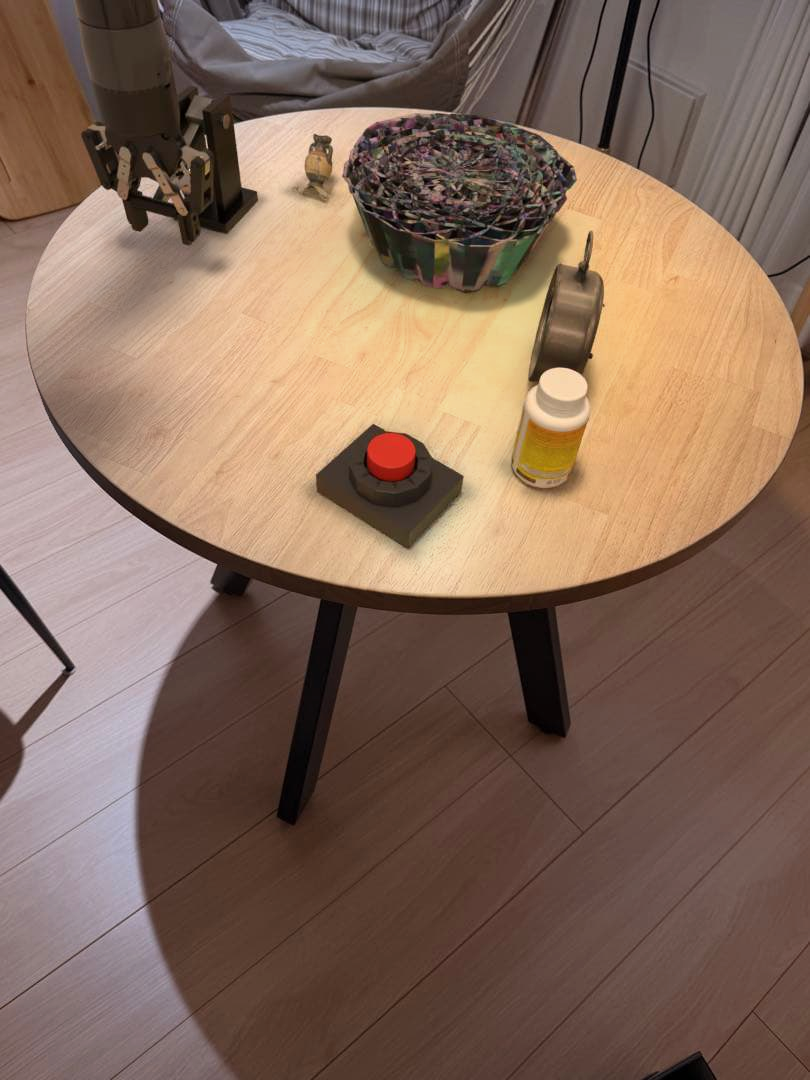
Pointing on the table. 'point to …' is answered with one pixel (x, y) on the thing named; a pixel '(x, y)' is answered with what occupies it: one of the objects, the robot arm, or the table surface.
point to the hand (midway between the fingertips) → (165, 234)
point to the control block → (390, 489)
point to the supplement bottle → (551, 428)
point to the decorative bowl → (455, 196)
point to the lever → (191, 137)
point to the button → (391, 457)
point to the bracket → (219, 162)
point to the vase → (318, 165)
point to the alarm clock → (568, 318)
